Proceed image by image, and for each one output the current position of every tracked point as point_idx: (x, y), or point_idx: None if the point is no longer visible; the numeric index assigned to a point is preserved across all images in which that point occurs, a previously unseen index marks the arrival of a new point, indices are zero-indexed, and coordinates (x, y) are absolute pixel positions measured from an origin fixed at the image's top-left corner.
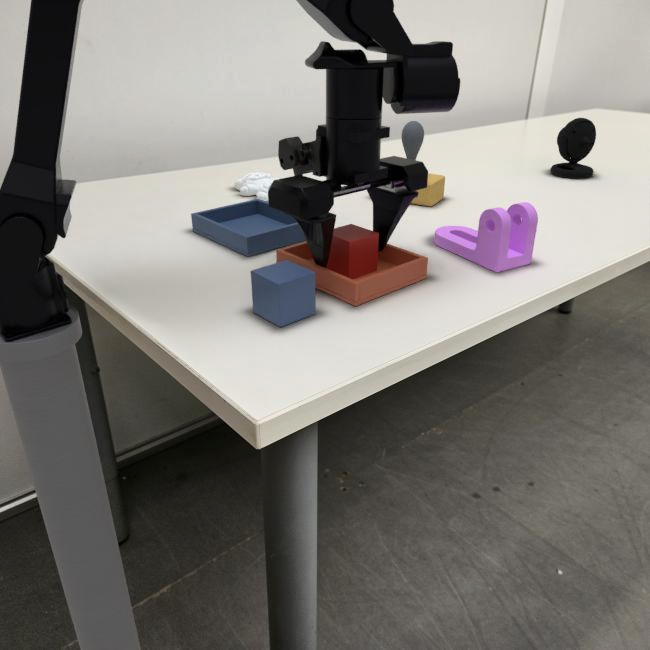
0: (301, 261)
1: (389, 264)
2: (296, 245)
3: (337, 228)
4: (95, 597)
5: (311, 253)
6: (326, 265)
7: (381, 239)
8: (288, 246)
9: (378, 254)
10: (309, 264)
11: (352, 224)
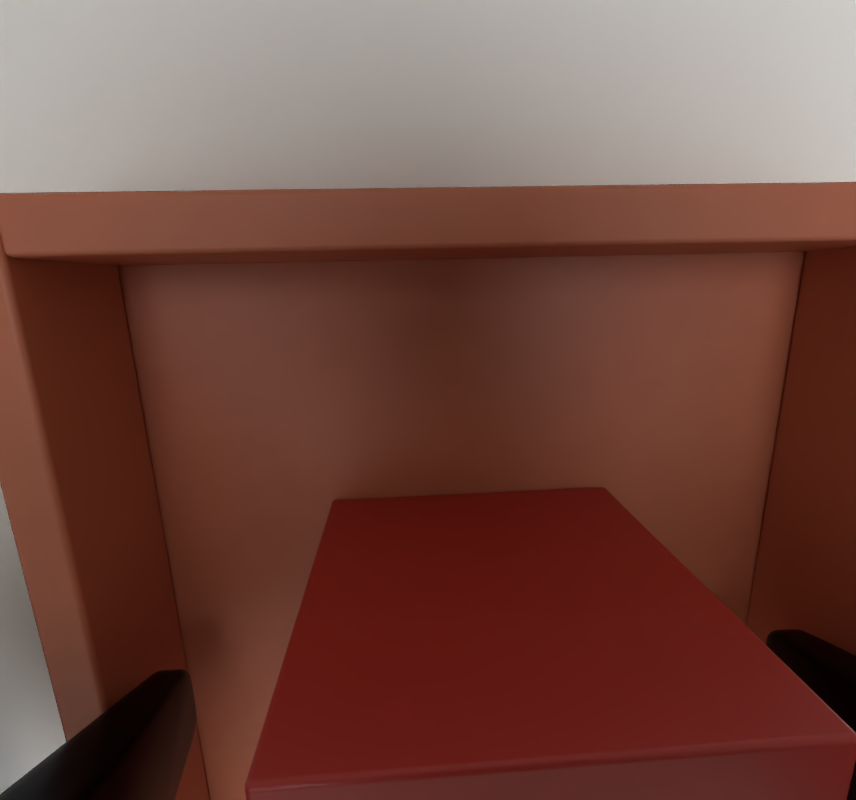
0: (35, 607)
1: None
2: (214, 236)
3: (541, 797)
4: None
5: (18, 784)
6: (176, 779)
7: (849, 794)
8: (113, 200)
9: (773, 596)
10: (58, 702)
11: (841, 779)
